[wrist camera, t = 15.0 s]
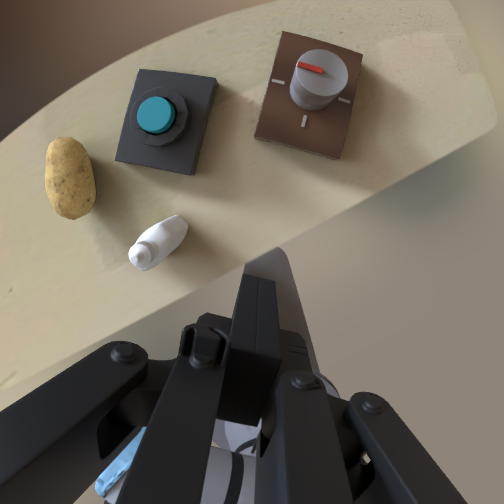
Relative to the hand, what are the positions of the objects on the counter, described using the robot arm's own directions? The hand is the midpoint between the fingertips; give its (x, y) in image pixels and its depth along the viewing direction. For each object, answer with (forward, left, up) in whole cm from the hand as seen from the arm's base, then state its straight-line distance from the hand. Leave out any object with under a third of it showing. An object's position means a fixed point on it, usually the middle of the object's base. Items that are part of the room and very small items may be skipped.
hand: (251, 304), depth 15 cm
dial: (+17, -2, -22) cm, 28 cm away
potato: (+1, +25, -25) cm, 35 cm away
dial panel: (+17, -2, -24) cm, 30 cm away
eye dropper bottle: (-4, +10, -25) cm, 27 cm away
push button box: (+10, +14, -24) cm, 30 cm away
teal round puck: (+10, +14, -21) cm, 27 cm away
